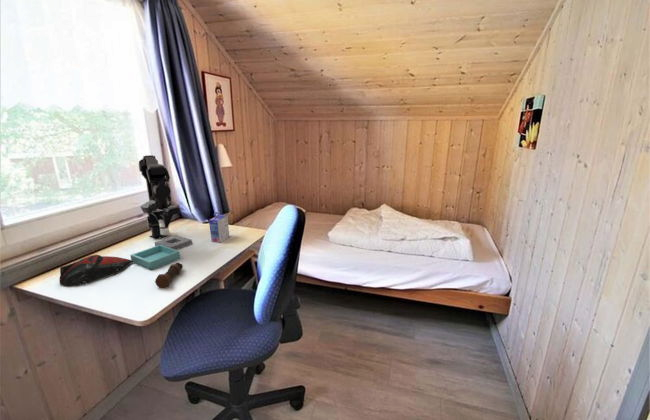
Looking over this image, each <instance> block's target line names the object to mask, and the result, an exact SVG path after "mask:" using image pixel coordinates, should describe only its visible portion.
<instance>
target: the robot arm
mask: <svg viewBox="0 0 650 420" xmlns="http://www.w3.org/2000/svg"><path fill="white" fill-rule="evenodd" d="M138 171H139V172H140V173H141V174H140V175H141V176H142V177H143V178H144V179H145V183H146V189H147V194H148V201H146V202H145V203H143V204H142V205H140V207H139V208H140V209H141V211H142V212H143V214H147V216H146V225H147V227H148V229H150V231H151V235H149V238H151V239H154V240H158V239H159V240H160V239H161V238H164V237H165V238H166V237H167V236H168V235H161V234H160V225H159V219H163V220H164V224H165V227H166V228H167V227H168V226H170V224H171V222H172V218H173V217H174V216H175V215H179V214H180V213H181V212H182V211H181V208H180V207H179V206H176V205H175V206H174V205H172V206H171V204H170V203H169V200H168V198H170V194H171V189H170V187H169V186H168V185H167V182H170V180H171V177H170V173H169V170H168V169H167V168H166V167H165V166H164V164H160V163H159V161H158V159H157V158H156V156H155V155H152V154H151V155H144V156H142V158H141V159H140V160H139V161H138Z"/></svg>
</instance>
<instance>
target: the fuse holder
mask: <svg viewBox="0 0 650 420" xmlns="http://www.w3.org/2000/svg"><path fill="white" fill-rule="evenodd" d="M192 244H193V239H190V238H188V237H185V236H184V237H183V236H181V235H178V234H175V235H173V236H169V237H167V238H166V237H165V238H163V239H159V240H158V241H155V242H154V247H155V246H158V245H163V246H166V247H169V248H172V249H175V250H179V249H182V248H184V247H187V246H189V245H192Z"/></svg>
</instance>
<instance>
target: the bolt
mask: <svg viewBox="0 0 650 420" xmlns="http://www.w3.org/2000/svg"><path fill="white" fill-rule="evenodd" d="M183 267H184V265H183V263H180V262H176V263H175V264H171V265H170V266H169V267H168V270H167V271H166V272H165V273H161V274H160V273H159V274H158V275H157V276H156V278H155V281H154V282H155V285H156V286H157V287H158V288H160V289H166V288H169V287H170V285H171V284H172V281H173V280H172V279H173V278H174V277H176V276H179V275H180V274H181V272H182V269H183Z"/></svg>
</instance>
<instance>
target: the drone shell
mask: <svg viewBox="0 0 650 420" xmlns="http://www.w3.org/2000/svg"><path fill="white" fill-rule="evenodd" d="M131 264H132V261H131V259H129V258H128V259H127V258H123V257H118V256H109V255H108V256H104V255H100V254H93V255H89V256H86V257H83V258H81V259H78V260H77V261H75V262H73V263H70V264H66V265H63V266H62V265H61V266H60V267H59V279H58V280H59V285H60V284H61V285H60V286H64V287H74V286H75V287H77V286H81V285H82V284H83V285H88V284H91V283H93V282H95V281H99V280H101V279H105V278H107V277H110V276H113V275H115V274H118V273H120V272H122V271H123V270H124V269H126V268H127V267H128V266H130V265H131Z"/></svg>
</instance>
